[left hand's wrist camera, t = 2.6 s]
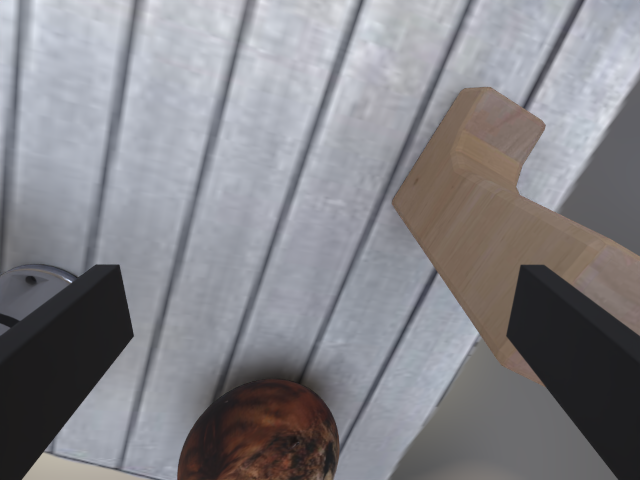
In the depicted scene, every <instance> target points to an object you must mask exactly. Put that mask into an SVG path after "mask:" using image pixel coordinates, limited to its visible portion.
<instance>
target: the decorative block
mask: <svg viewBox="0 0 640 480" xmlns="http://www.w3.org/2000/svg"><path fill="white" fill-rule="evenodd" d="M545 126H546V125H545V124H544V122H543V121H542V120H541V119H539V118H538V117H536V116H534V115H533V114H531V113H530V112H528V111H527V110H525V109H524V108H522V107H520V106H519V105H517V104H516V103H514V102H513V101H511V100H510V99H508V98H506V97H505V96H503V95H502V94H500V93H499V92H497V91H496V90H494V89H493V88H491V87H479V88H465V89H463V90H462V91H461V92H460V93H459V95H458V97H457V98H456V100H455V101H454V103H453V104H452V106H451V108H450V109H449V111H448V112H447V114H446V116H445V117H444V119H443V120H442V122H441V124H440V125H439V127H438V128H437V130H436V132H435V133H434V135H433V136H432V138H431V139H430V141H429V143H428V144H427V146H426V147H425V149H424V151H423V152H422V154H421V155H420V157H419V159H418V160H417V162H416V163H415V165H414V167H413V168H412V170H411V171H410V173H409V175H408V176H407V178H406V179H405V181H404V183H403V184H402V186H401V187H400V189H399V191H398V192H397V194H396V195H395V197H394V199H393V201H392V205H393V206H394V208H395V209H396V211H397V212H398V214H399V215H400V217H401V218H402V220H403V221H404V223H405V224H406V226H407V227H408V229H409V230H410V232H411V233H412V235H413V236H414V238H415V239H416V240H417V242H418V243H419V245H420V246H421V248H422V249H423V251H424V252H425V254H426V255H427V257H428V258H429V260H430V261H431V263H432V264H433V266H434V267H435V268H436V270H437V271H438V273H439V274H440V276H441V277H442V279H443V280H444V282H445V283H446V285H447V286H448V288H449V289H450V291H451V292H452V294H453V295H454V297H455V298H456V300H457V301H458V302H459V304H460V305H461V307H462V308H463V310H464V311H465V313H466V314H467V316H468V317H469V319H470V320H471V322H472V323H473V325H474V326H475V328H476V329H477V331H478V332H479V333H480V335H481V336H482V338H483V339H484V341H485V342H486V344H487V345H488V347H489V348H490V350H491V351H492V353H493V354H494V356H495V357H496V359H497V360H498V361H499V362H500V364H501V365H502V366H504V367H506V368H508V369H510V370H512V371H514V372H516V373H518V374H520V375H522V376H524V377H526V378H528V379H530V380H532V381H534V382H536V383H538V384H540V385H542V386H544V387H546V386H545V385H544V384H543V383H542V381H541V380H540V379H539V378H538V376H537V375H536V374H535V372H534V371H533V370H532V369H531V367H530V366H529V365H528V363H527V362H526V361H525V360H524V358H523V357H522V356H521V354H520V353H519V352H518V351H517V349H516V348H515V347H514V346H513V344H512V343H511V342H510V340H509V339H508V338H507V337H506V334H507V329H508V324H509V319H510V314H511V309H512V304H513V299H514V295H515V290H516V285H517V280H518V275H519V270H520V265H545V266H547V267H548V268H549V269H551V270H552V271H553V272H555V273H556V274H557V275H559V276H560V277H561V278H563V279H564V280H565V281H567V282H568V283H569V284H571V285H572V286H573V287H575V288H576V289H577V290H579V291H580V292H581V293H583V294H584V295H586V296H587V297H588V298H590V299H591V300H592V301H594V302H595V303H596V304H598V305H599V306H600V307H602V308H603V309H604V310H606V311H607V312H608V313H610V314H611V315H612V316H614V317H615V318H616V319H618V320H619V321H620V322H622V323H623V324H625V325H626V326H627V327H629V328H630V329H631V330H633V331H634V332H635V333H637V334H638V335H639V336H640V257H639V256H638V255H636V254H635V253H633V252H631V251H630V250H628V249H626V248H624V247H623V246H621V245H619V244H618V243H616V242H614V241H613V240H611V239H609V238H607V237H605V236H603V235H601V234H599V233H597V232H595V231H593V230H590V229H588V228H586V227H584V226H582V225H580V224H578V223H576V222H574V221H572V220H570V219H568V218H566V217H564V216H562V215H560V214H558V213H556V212H553V211H551V210H549V209H547V208H545V207H543V206H541V205H539V204H537V203H535V202H533V201H531V200H529V199H527V198H525V197H523V196H521V195H520V194H519V192H518V190H517V188H516V185H517V182H518V178H519V175H520V172H521V169H522V166H523V164H524V162H525V161H526V159H527V157H528V156H529V154H530V153H531V151H532V149H533V148H534V146H535V144H536V143H537V141H538V140H539V138H540V136H541V135H542V133H543V131H544V130H545Z"/></svg>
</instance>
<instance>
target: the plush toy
mask: <svg viewBox="0 0 640 480" xmlns="http://www.w3.org/2000/svg"><path fill="white" fill-rule="evenodd" d="M338 459H339V435H338V430H337V426H336V423H335V420H334V418H333V415H332V413H331V412H330V410H329V408H328V407H327V405H326V404H325V403H324V401H323V400H322V399H321V398H320V397H319V396H318V395H317V394H316V393H314V392H313V391H312V390H310V389H309V388H307V387H305V386H303V385H301V384H298V383H295V382H292V381H288V380H281V379H265V380H258V381H254V382H250V383H247V384H244V385H242V386H239V387H237V388H235V389H233V390H231V391H229V392H228V393H226V394H225V395H223V396H222V397H220V398H219V399H218V400H216V401H215V402H214V403H213V404H212V405H211V406H210V407H208V408H207V409H206V411H205V412H204V413H203V414H202V415H201V416H200V417H199V419H198V420H197V421H196V423H195V424H194V426H193V428H192V429H191V431H190V433H189V434H188V436H187V438H186V441H185V443H184V446H183V449H182V452H181V455H180V459H179V464H178V473H177V480H333V479H334V476H335V473H336V469H337V465H338Z"/></svg>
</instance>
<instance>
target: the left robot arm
mask: <svg viewBox="0 0 640 480" xmlns="http://www.w3.org/2000/svg"><path fill="white" fill-rule="evenodd" d="M133 337H134V334H133V329H132V324H131V319H130V314H129V309H128V304H127V299H126V295H125V290H124V285H123V280H122V275H121V270H120V265H95V266H93V267H92V268H91V269H89V270H88V271H87V272H85V273H84V274H83V275H81V276H80V277H79V278H77V277H75V276H73V275H72V274H70V273H68V272H66V271H63V270H61V269H58V268H55V267H51V266H46V265H37V264H32V265H23V266H19V267H16V268H13V269H11V270H9V271H7V272H6V273H4V274H2V275H0V480H22V479H23V477H24V476H25V475H26V473H27V472H28V471H29V470H30V468H31V467H32V466H33V465H34V463H35V462H36V461H37V459H38V458H39V457H40V456H41V454H42V453H43V452H44V450H45V449H46V448H47V447H48V445H49V444H50V443H51V442H52V440H53V439H54V438H55V436H56V435H57V434H58V433H59V431H60V430H61V429H62V427H63V426H64V425H65V424H66V422H67V421H68V420H69V418H70V417H71V416H72V415H73V413H74V412H75V411H76V410H77V408H78V407H79V406H80V404H81V403H82V402H83V401H84V399H85V398H86V397H87V395H88V394H89V393H90V392H91V390H92V389H93V388H94V386H95V385H96V384H97V383H98V381H99V380H100V379H101V378H102V376H103V375H104V374H105V372H106V371H107V370H108V369H109V367H110V366H111V365H112V363H113V362H114V361H115V360H116V358H117V357H118V356H119V354H120V353H121V352H122V351H123V349H124V348H125V347H126V346H127V344H128V343H129V342H130V340H131V339H132V338H133ZM506 337H507V338H508V339H509V340H510V342H511V343H512V344H513V346H514V347H515V348H516V349H517V351H518V352H519V353H520V354H521V356H522V357H523V358H524V360H525V361H526V362H527V363H528V365H529V366H530V367H531V369H532V370H533V371H534V372H535V374H536V375H537V376H538V378H539V379H540V380H541V381H542V383H543V384H544V385H545V386H546V388H547V389H548V390H549V392H550V393H551V394H552V395H553V397H554V398H555V399H556V401H557V402H558V403H559V404H560V406H561V407H562V408H563V409H564V411H565V412H566V413H567V415H568V416H569V417H570V418H571V420H572V421H573V422H574V424H575V425H576V426H577V427H578V429H579V430H580V431H581V433H582V434H583V435H584V436H585V438H586V439H587V440H588V442H589V443H590V444H591V445H592V447H593V448H594V449H595V450H596V452H597V453H598V454H599V456H600V457H601V458H602V459H603V461H604V462H605V463H606V465H607V466H608V467H609V468H610V470H611V471H612V472H613V473H614V475H615V476H616V477H617V478H618V480H640V336H639V335H638V334H637V333H635V332H634V331H633V330H631V329H630V328H629V327H627V326H626V325H625V324H623V323H622V322H620V321H619V320H618V319H616V318H615V317H614V316H612V315H611V314H610V313H608V312H607V311H606V310H604V309H603V308H602V307H600V306H599V305H598V304H596V303H595V302H594V301H592V300H591V299H590V298H588V297H587V296H586V295H584V294H583V293H581V292H580V291H579V290H577V289H576V288H575V287H573V286H572V285H571V284H569V283H568V282H567V281H565V280H564V279H563V278H561V277H560V276H559V275H557V274H556V273H555V272H553V271H552V270H551V269H549V268H548V267H547V266H545V265H520V270H519V275H518V280H517V285H516V290H515V295H514V299H513V304H512V309H511V314H510V319H509V324H508V329H507V334H506Z"/></svg>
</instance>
